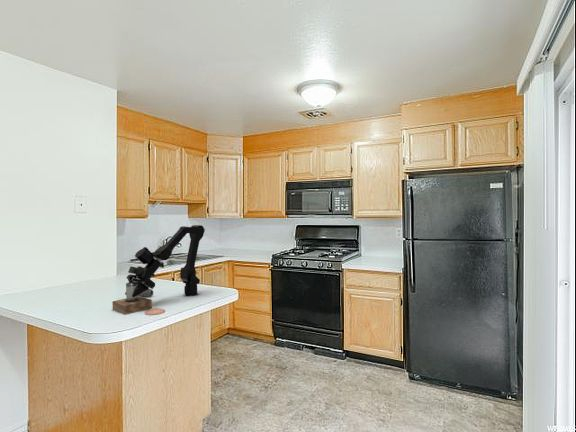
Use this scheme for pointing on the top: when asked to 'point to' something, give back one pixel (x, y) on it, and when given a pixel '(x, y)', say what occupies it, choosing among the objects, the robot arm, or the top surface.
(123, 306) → the housing
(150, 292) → the pipe
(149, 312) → the mat
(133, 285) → the shiny metal cylinder
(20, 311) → the top surface
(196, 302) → the top surface
